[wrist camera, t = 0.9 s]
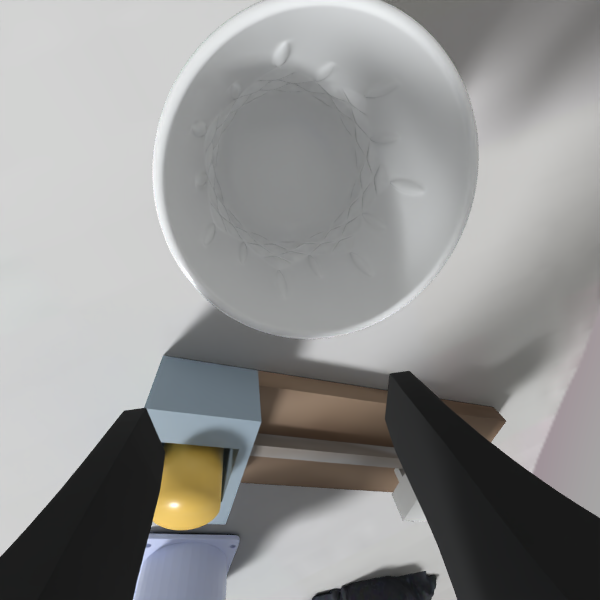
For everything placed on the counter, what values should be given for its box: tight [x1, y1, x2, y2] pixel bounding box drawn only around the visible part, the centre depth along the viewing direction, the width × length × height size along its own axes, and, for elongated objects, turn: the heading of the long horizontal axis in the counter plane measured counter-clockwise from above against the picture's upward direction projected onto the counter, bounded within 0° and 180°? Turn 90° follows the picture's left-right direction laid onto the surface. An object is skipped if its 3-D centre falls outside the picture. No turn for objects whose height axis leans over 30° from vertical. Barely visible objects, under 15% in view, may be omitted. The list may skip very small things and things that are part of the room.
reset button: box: [153, 442, 224, 530], centre depth 19 cm, size 4×4×4 cm
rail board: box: [240, 371, 506, 492], centre depth 25 cm, size 9×20×2 cm, turn 72°
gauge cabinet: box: [144, 356, 261, 524], centre depth 21 cm, size 9×6×4 cm, turn 162°
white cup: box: [152, 0, 479, 339], centre depth 12 cm, size 8×8×10 cm
